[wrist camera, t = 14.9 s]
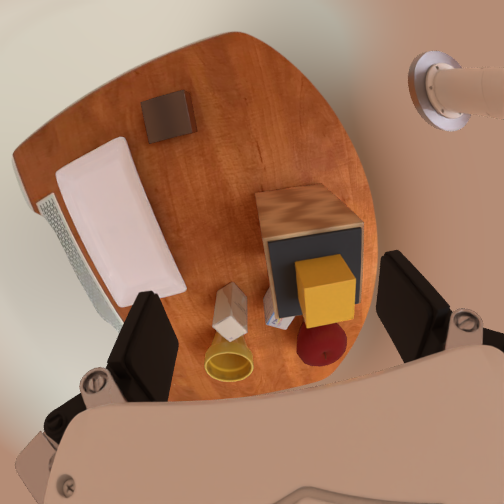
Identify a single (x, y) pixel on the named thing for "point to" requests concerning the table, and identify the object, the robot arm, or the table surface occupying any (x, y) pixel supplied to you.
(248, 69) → the table surface
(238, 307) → the box
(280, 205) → the block
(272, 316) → the medicine box
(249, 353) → the flower pot
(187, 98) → the base block
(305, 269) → the top block
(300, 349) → the apple
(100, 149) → the tray
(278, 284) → the mat
